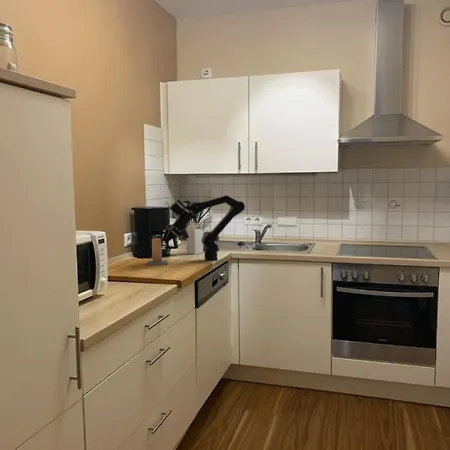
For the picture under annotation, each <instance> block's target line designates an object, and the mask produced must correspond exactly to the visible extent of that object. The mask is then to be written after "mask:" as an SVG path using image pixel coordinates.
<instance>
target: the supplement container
mask: <svg viewBox="0 0 450 450" xmlns="http://www.w3.org/2000/svg"><path fill="white" fill-rule="evenodd" d="M206 232H207V231H204V232H203V235H205V233H206ZM215 244H216V245H218V248H217V252H219V251H220V236H219V235H218V236H217V239H216V241H215ZM206 249H207V248H205V246H204V245H203V252H205V251H206Z"/></svg>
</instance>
